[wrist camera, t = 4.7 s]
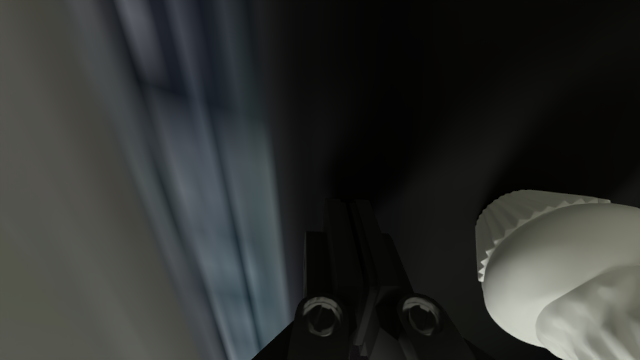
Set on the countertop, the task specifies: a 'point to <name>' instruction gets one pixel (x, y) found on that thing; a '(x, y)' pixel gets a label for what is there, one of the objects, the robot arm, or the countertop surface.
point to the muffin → (563, 273)
